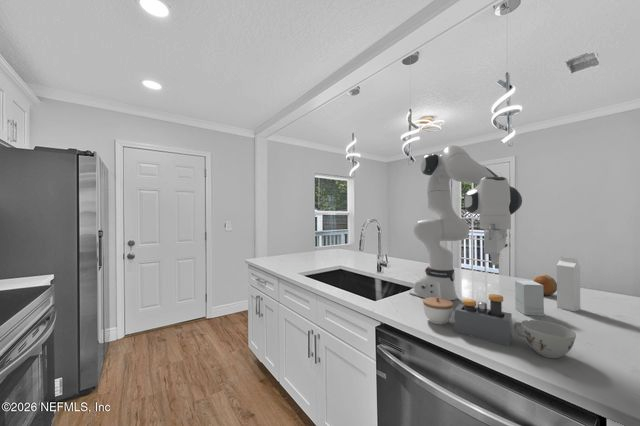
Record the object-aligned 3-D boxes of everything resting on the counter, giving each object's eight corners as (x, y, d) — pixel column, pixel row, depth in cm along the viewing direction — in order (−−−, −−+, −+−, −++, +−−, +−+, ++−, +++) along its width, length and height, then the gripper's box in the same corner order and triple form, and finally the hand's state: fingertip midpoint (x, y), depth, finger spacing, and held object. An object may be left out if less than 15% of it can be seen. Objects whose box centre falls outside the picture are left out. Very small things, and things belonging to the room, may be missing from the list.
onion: (534, 290, 142) (534, 271, 142) (559, 294, 135) (558, 274, 135) (530, 294, 136) (530, 275, 136) (556, 299, 129) (556, 278, 129)
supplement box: (544, 316, 108) (544, 285, 108) (523, 315, 110) (523, 284, 110) (533, 309, 116) (533, 280, 116) (514, 308, 117) (514, 279, 117)
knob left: (461, 326, 96) (461, 301, 96) (464, 323, 99) (464, 298, 99) (475, 330, 93) (474, 303, 93) (477, 326, 96) (477, 300, 96)
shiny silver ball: (477, 311, 93) (476, 303, 93) (478, 309, 95) (478, 301, 95) (486, 313, 92) (486, 305, 91) (487, 311, 94) (487, 302, 94)
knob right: (487, 323, 91) (487, 296, 91) (489, 319, 94) (489, 293, 94) (502, 326, 88) (502, 298, 88) (504, 322, 91) (504, 295, 91)
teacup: (582, 356, 79) (582, 329, 78) (567, 370, 72) (566, 341, 72) (523, 336, 91) (522, 313, 91) (505, 346, 85) (504, 321, 85)
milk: (574, 311, 113) (574, 259, 112) (556, 307, 118) (556, 257, 118) (580, 309, 116) (580, 258, 115) (562, 304, 121) (562, 256, 121)
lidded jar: (447, 329, 97) (447, 304, 97) (419, 321, 105) (418, 298, 105) (456, 320, 105) (456, 297, 105) (429, 313, 113) (429, 291, 113)
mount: (454, 331, 96) (454, 309, 96) (460, 324, 102) (460, 303, 102) (509, 346, 85) (509, 321, 85) (511, 336, 91) (511, 313, 91)
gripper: (502, 225, 81) (502, 270, 81) (509, 222, 96) (509, 261, 96) (478, 224, 85) (478, 268, 85) (488, 222, 100) (489, 259, 100)
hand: (495, 264), depth 91 cm, fingers closed
